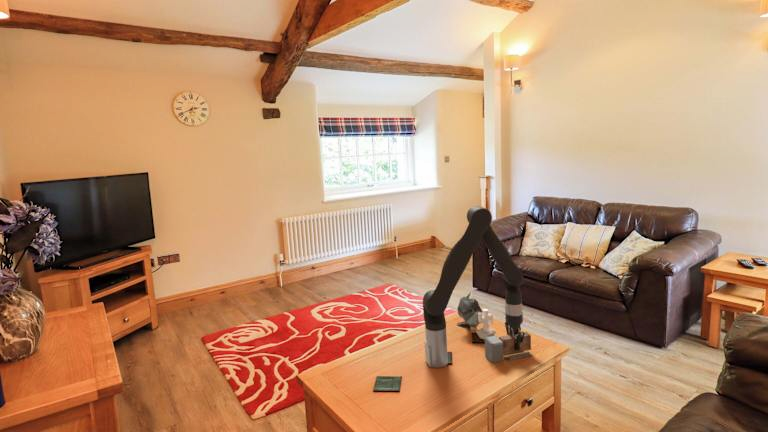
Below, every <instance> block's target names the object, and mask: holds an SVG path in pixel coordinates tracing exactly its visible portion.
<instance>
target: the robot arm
mask: <svg viewBox="0 0 768 432" xmlns="http://www.w3.org/2000/svg"><path fill="white" fill-rule="evenodd" d="M466 220H467V222H468V225H467V227H466V230H465V231H464V234H462V236H461V237H460V239H459V240H458V241H457V242H456V243H455V244H454V245H453V247H452V248H451V249H450V251H449V252H448V254H447V256H446V258H445V260H444V262H443V265H442V269H441V273H440V276H439V277H440V278H439V280H438V284H437V286H436V287H435V289H431V290H427V291H426V292H425V294H424V295H423V298H422V308H423V309H422V311H423V320H424V326H425V328H424V329H425V341H424V352H425V362H426V364H427V366H428V367H429V368H439V369H440V368H445V367H446V366H448V363H449V361H448V360H449V357H448V356H449V355H448V339H447V337H448V336H447V322H446V316H445V311H446V308H447V307H448V305H449V302H450V300H451V296H452V294H453V291H454V290H455V287H456V286H457V284H458V283H459V280H460V279H461V277H462V275H463V273H465V272H464V271H465V270H466V268H467V266H468V265H469V263H470V260H471V258H472V256H473V254H474V252H475V250H476V249H477V246H478V244H479V243H480V240H482V241H483V243H484V245H485V246H486V249H487V250H488V252H489V253H490V255H491V258H492V259H493V261H494V262H495V264H496V266H497V267H498V269H499V270H501V272H502V281H503V287H504V293H505V295H504V296H505V304H504V311H505V316H504V317H505V322H504V325H505V326H504V327H505V332H506V336H508V335H513V337H514V346H515V350H519V349H520V343H521V342H523V339H524V335H525V331H522V328H521V325H522V323H523V322H524V312H523V311H524V310H523V309H524V308H523V300H522V299H523V295H522V290H521V289H520V286H521V285H523V282H524V275H523V273H522V272H521V270H520V268H519V267H518V265H517V264H516V262H515V261H514V260H513V259H512V256H511V255H510V252H509V251H508V249H507V247H506V246H505V244H504V243H503V241H502V240H501V239H500V237H498V236H497V234H496V233H495V231H494V230H493V228H492V226H491V223H492V220H493V215H492V213H491V211H490V210H489V209H487V208H485V207H483V206H480V205H475V206H471V207H470V208H469V209H468V210H467V212H466ZM516 334H517V335H516ZM516 338H517V340H516ZM520 339H521V340H520Z"/></svg>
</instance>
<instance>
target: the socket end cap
mask: <svg viewBox="0 0 768 432" xmlns="http://www.w3.org/2000/svg"><path fill="white" fill-rule="evenodd" d="M484 355H485V357H486V359H488V360H489V361H490V362H491V364H494V363H495V364H496V363H499V362H504V355H503V342H502V341H501V340H500V339H499V336H497V335H494V336H491V337H485V340H484Z"/></svg>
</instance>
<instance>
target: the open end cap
mask: <svg viewBox="0 0 768 432" xmlns="http://www.w3.org/2000/svg"><path fill="white" fill-rule="evenodd" d="M530 356H531V352H528V351H527V352H522V353H516V354H512V355H508V360H510V361H511V360H516V359H520V358H521V359H522V358H527V357H530Z"/></svg>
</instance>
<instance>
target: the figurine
mask: <svg viewBox="0 0 768 432" xmlns="http://www.w3.org/2000/svg"><path fill="white" fill-rule="evenodd" d="M481 310H482V313H478V322H479V323H480V324H482V327H481V328H479V329H477V331H476V332H475V333H476V334H477V335H478V338H479V339H482V340H484V341H485V337H491V336H495V335H496V332H497V330H495V329H492V328H490V327H489V325H493V324H494V316H493V314H492V313H489V309H487V308H484V307H483V308H481Z"/></svg>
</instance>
